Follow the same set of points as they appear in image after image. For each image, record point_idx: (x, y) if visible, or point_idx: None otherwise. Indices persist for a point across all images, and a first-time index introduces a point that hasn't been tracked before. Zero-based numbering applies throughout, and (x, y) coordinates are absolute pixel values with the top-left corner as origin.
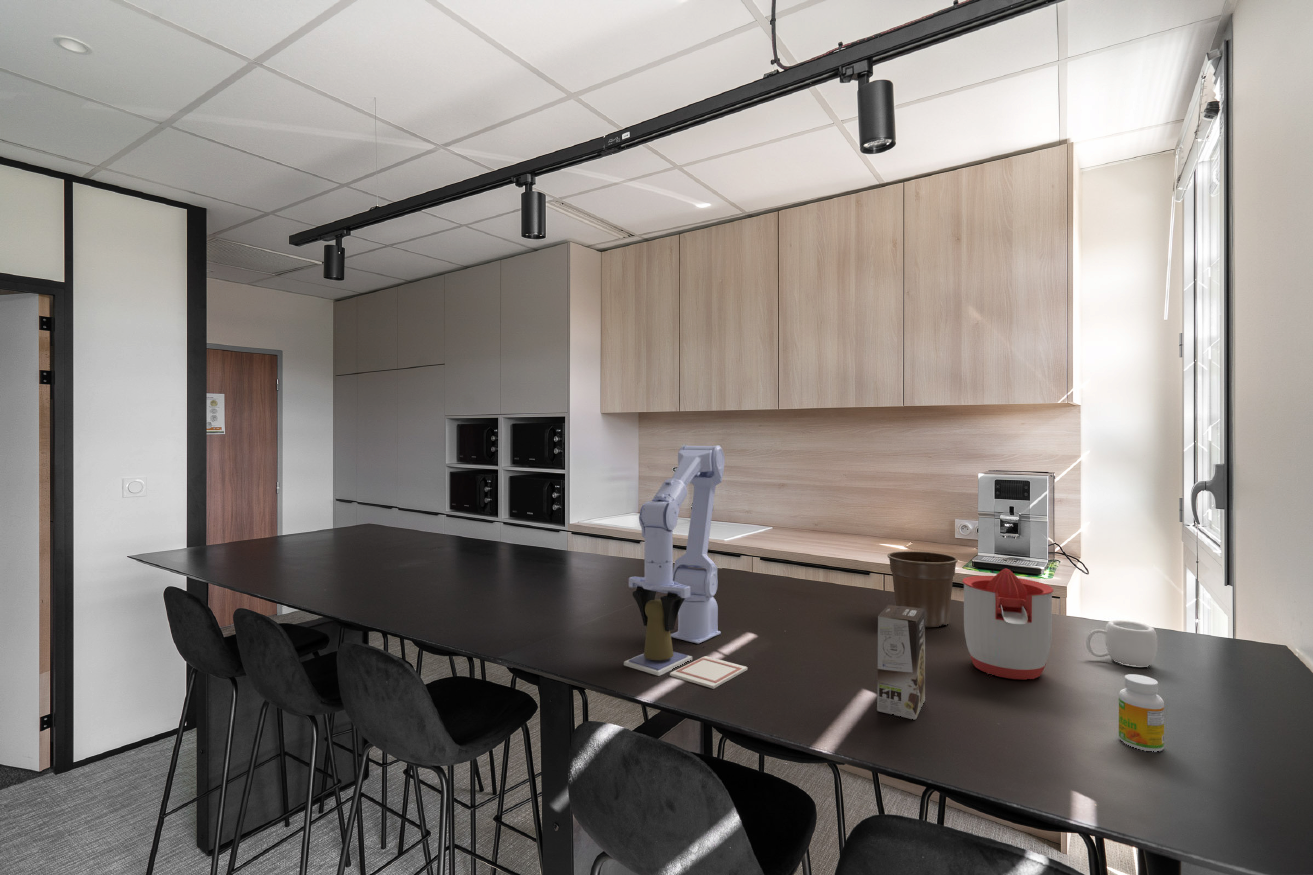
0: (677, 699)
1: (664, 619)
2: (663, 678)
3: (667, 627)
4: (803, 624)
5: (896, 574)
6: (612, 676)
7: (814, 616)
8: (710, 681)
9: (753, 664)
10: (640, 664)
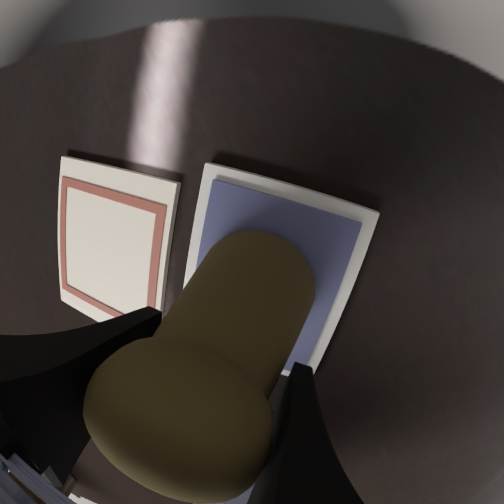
0: (109, 49)
1: (119, 331)
2: (189, 150)
3: (135, 311)
4: (127, 484)
5: (38, 500)
6: (364, 89)
7: (135, 501)
8: (73, 179)
9: (72, 329)
10: (300, 202)
